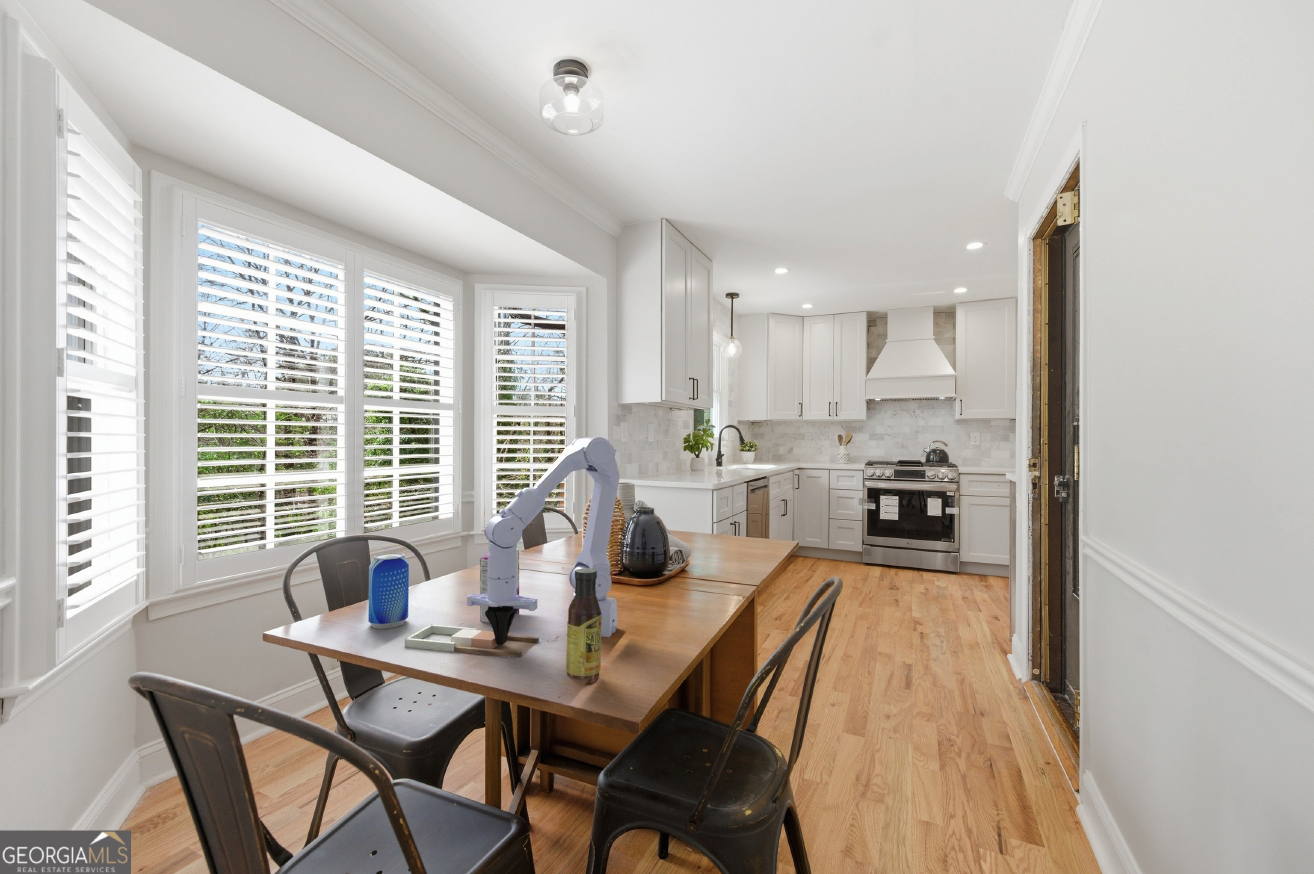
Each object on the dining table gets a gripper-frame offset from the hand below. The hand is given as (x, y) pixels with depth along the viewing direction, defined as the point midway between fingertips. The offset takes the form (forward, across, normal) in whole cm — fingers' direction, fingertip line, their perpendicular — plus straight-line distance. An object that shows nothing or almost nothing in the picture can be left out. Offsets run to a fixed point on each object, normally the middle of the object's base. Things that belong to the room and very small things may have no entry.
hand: (501, 642), depth 115 cm
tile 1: (+1, -8, 0) cm, 8 cm away
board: (+2, -1, 0) cm, 2 cm away
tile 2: (+1, -3, 0) cm, 3 cm away
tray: (+2, -13, 0) cm, 14 cm away
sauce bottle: (+2, +20, -8) cm, 22 cm away
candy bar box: (+2, -10, +19) cm, 21 cm away
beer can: (+2, -34, +11) cm, 36 cm away
